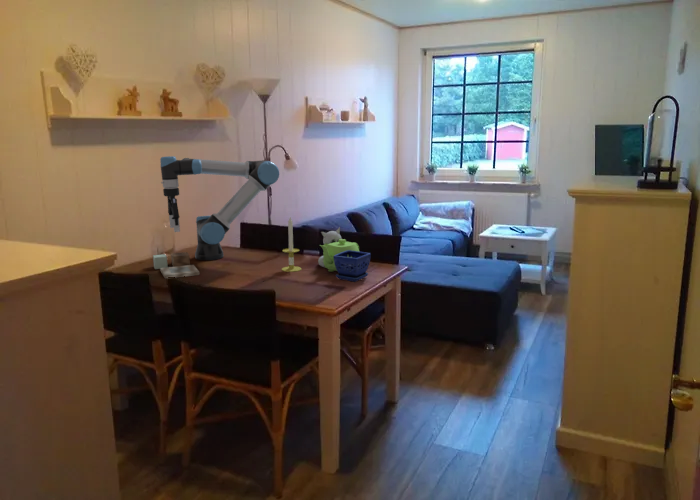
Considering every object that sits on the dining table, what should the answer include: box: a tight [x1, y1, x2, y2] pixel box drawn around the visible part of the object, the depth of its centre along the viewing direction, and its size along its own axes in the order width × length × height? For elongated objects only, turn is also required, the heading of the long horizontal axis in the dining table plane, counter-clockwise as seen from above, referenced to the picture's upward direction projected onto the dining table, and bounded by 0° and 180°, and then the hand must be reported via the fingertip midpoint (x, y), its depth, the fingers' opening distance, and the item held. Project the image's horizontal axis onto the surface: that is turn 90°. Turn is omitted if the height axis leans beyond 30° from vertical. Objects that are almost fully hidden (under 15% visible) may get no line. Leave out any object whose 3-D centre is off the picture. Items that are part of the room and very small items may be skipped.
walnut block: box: [170, 251, 191, 267], centre depth 286 cm, size 8×8×6 cm
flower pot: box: [334, 250, 372, 283], centre depth 259 cm, size 13×13×12 cm
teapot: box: [319, 238, 360, 273], centre depth 274 cm, size 25×22×16 cm
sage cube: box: [152, 253, 169, 270], centre depth 282 cm, size 6×6×6 cm
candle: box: [281, 216, 302, 273], centre depth 275 cm, size 10×10×27 cm
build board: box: [159, 264, 200, 280], centre depth 271 cm, size 16×16×2 cm
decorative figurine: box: [317, 226, 343, 269], centre depth 283 cm, size 15×15×20 cm
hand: (175, 229), depth 282 cm, fingers open, 13 cm apart
